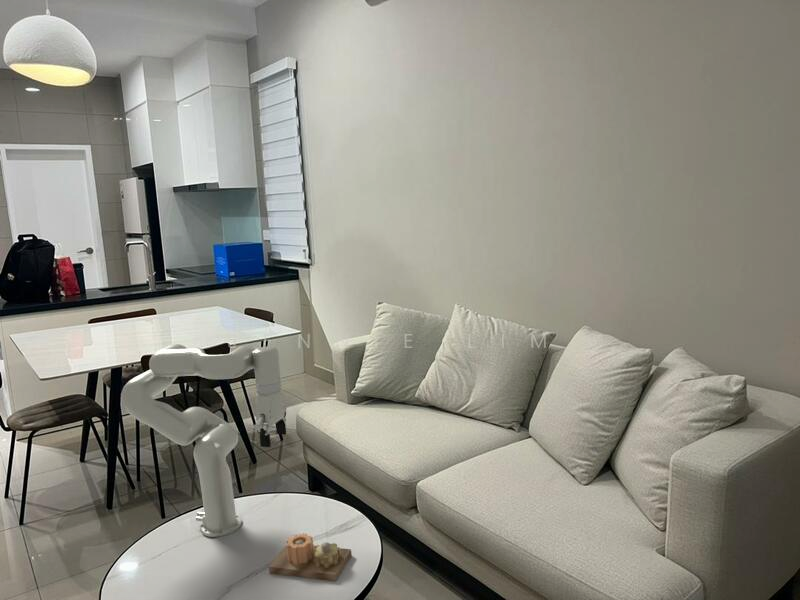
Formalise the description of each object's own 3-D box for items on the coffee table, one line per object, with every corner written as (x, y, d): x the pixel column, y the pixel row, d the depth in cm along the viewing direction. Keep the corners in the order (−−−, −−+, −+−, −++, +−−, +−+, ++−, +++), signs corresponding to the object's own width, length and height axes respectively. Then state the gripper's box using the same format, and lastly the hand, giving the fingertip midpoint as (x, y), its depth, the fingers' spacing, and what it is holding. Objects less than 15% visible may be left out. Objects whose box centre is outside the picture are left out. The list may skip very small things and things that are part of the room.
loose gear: (283, 562, 171) (281, 546, 170) (295, 548, 178) (293, 532, 177) (307, 565, 169) (305, 549, 168) (318, 550, 176) (316, 534, 175)
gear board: (269, 573, 170) (267, 551, 169) (289, 548, 181) (286, 528, 180) (335, 581, 164) (333, 559, 163) (351, 555, 176) (349, 535, 175)
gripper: (272, 378, 195) (276, 429, 198) (242, 395, 179) (248, 450, 182) (293, 379, 193) (297, 430, 196) (265, 397, 177) (270, 452, 180)
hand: (273, 440), depth 189 cm, fingers open, 9 cm apart
